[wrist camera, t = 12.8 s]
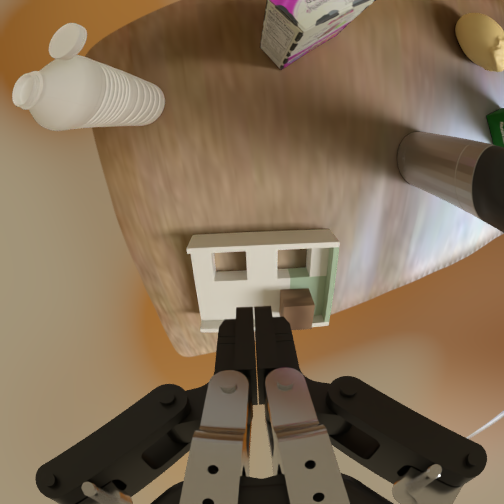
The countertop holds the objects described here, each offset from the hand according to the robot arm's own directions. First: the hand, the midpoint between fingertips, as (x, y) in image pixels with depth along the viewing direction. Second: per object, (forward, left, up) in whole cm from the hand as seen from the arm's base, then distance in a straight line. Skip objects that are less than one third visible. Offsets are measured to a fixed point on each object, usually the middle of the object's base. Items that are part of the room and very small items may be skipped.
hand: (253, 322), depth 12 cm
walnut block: (-7, +18, -26) cm, 32 cm away
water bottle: (+13, -14, -29) cm, 35 cm away
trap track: (-2, +15, -29) cm, 32 cm away
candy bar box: (-8, -22, -29) cm, 37 cm away
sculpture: (-43, -31, -29) cm, 61 cm away
